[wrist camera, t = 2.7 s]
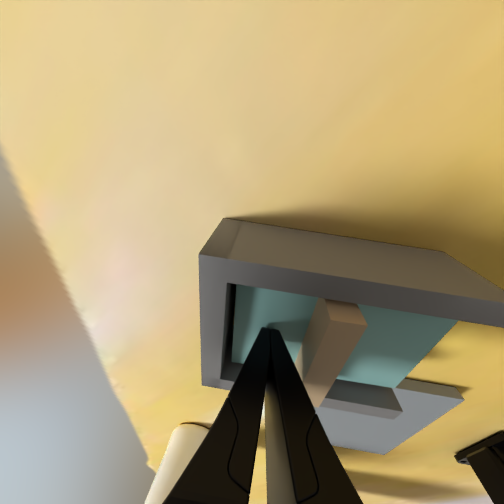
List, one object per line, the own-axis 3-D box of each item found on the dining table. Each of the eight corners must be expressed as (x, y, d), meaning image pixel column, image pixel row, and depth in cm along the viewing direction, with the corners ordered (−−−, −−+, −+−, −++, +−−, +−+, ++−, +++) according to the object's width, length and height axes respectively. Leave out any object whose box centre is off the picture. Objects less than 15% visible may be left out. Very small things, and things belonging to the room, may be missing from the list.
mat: (455, 387, 14) (464, 399, 13) (380, 444, 20) (384, 454, 19) (292, 359, 14) (293, 370, 14) (267, 423, 20) (266, 433, 20)
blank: (417, 266, 10) (509, 346, 6) (370, 339, 13) (411, 423, 9) (246, 243, 10) (229, 304, 6) (240, 319, 13) (225, 391, 9)
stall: (443, 252, 9) (528, 306, 6) (366, 357, 13) (393, 419, 10) (223, 218, 9) (198, 254, 6) (217, 331, 14) (201, 385, 11)
